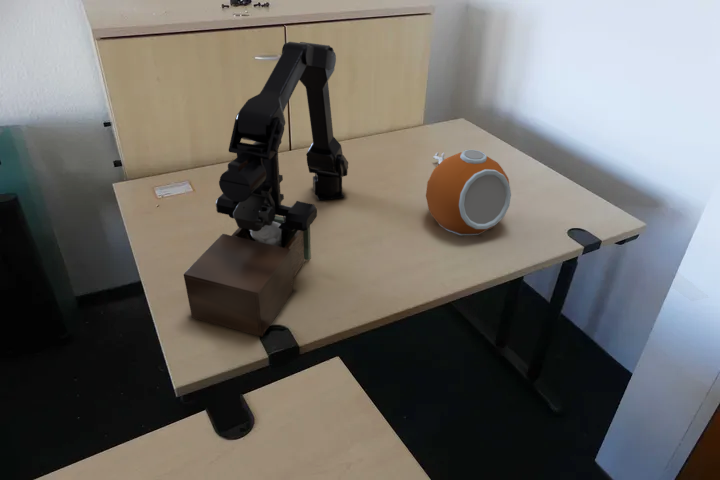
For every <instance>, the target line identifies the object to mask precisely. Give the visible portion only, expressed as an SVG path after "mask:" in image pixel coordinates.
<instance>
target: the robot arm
mask: <svg viewBox="0 0 720 480" xmlns="http://www.w3.org/2000/svg"><path fill="white" fill-rule="evenodd" d="M336 63H337V55H336V52H335V51H334V48H333V47H331V46H330V45H328V44H322V43H321V44H320V43H312V42H304V41H300V42H296V41H288V42H285V43H283V46H282V49H281V55H280V57H279V58H278V60H277V62H276V64H275V65H274V67H273V70H272V71H271V73H270V75H269V76H268V78H267V80H266V82H265V83H264V85H263V87H262V88H261V91H260V92H259V93H258V94H257V95H254V96H252V97H250V98H248V99H247V100H246V102H245V103H244V104H243V106H242V107H241V108H240V109H239V111H238V113H236V115H235V119H234V123H233V128H232V133H231V137H230V142H229V147H228V152H229V153H232V154H236V157H235V159H233V160H231V161H229V162H228V163H227V169H226V170H225V171H224V172H222V173H221V175H220V177H219V180H218V185H219V188H220V191H221V192H222V193H221V195H220V196H218V197H217V198H216V200H215V203H214V204H215V211H216V212H217V214H218V213H219V214H223V215H227V216H228V217H229V218H230V219H234V221H235V223H236V225H237V228H242V229H243V228H244V229H245V230H246V232H247V234H248V236H249V237H250V239H251V240H253V241H256V240H255V239H254V238H253V237H252V236H251V232H250V230H252V231H260V230H261V229H262V227H264V226H265V225H268V226H270V225H271V224H272V222H273V220H274V218H275V216H280V217H283V219H284V221H283V222H282V223H281V225H280V226H279V227H278V228H279V229H281V245H282V247H283V248H285V246H286V245H287V243H288V241H289V238H290V236H291V233H292V231H294V230H300V231H305V230H307V229H308V228H309V226H310V227H311V225H312V224H313V222H314V221H315V220H316V218H317V217H318V208H317V206H316V205H315V204H313V203H309V202H305V201H299V200H296V202H295V203H294V204H293V205H285V204H282V203H283V200H284V199H285V194H284V193H281V182H283V179H284V178H283V174H280V163H279V148H280V145H281V144H282V139H283V135H284V132H285V125H286V118H285V113H284V112H285V110H286V107H287V105H288V103H289V101H290V99H291V97H292V95H293V93H294V91H295V89H296V87H297V86H298V83H299V81H300V83H301V84H302V85H303V86H304V87H305V92H306V93H305V95H306V102H307V108H308V115H309V123H310V130H311V136H312V143H311V145H310V147H309V148H308V150H307V152H306V155H305V156H306V165H307V169H308V172H309V173H310V174H314V175H313V176H312V191H313V193H314V195H315V197H316V199H317V200H318V201H319V202H323V201H330V200H337V199H338V200H339V199H344V197H345V196H344V193H343V178H344V177H347V176H348V170H349V161H348V159H347V158H346V157H345V155H344V154H343V147H342V144H341V143H340V142H339V141H338V140H337V139H336V137H335V136H334V129H333V128H334V127H333V120H332V119H333V118H332V109H331V100H330V99H331V98H330V88H329V80H330V79H331V77H332V75H333V73H334V72H335V66H336ZM242 140H245V141H250V142H253V143H247V142H243V141H242Z"/></svg>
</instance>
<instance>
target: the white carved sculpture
mask: <svg viewBox="0 0 720 480" xmlns="http://www.w3.org/2000/svg"><path fill="white" fill-rule="evenodd" d="M280 225H281V224H279V223H277V222H274V221H273V222H272V224H271V225H270V226H268V225H265V226H264V227H262V229H261V230H260V231H252V230H250V232H251V236H252V237H253V238H254V239H255V240H256V241H257V242H261V243H266V244H270V245H275V246H279V247H280V246H281V229H279V228H278V227H279V226H280Z"/></svg>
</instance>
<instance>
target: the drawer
mask: <svg viewBox="0 0 720 480" xmlns="http://www.w3.org/2000/svg"><path fill="white" fill-rule="evenodd" d="M273 221H274V222H277V223H279V224H281V223H282V222H283V221H284V219H283V216H279V215H276V216H275V218H274V220H273ZM231 236H235V237H240V238H244V239H248V240H251V239H250V237H249V236H248V234H247V232H246V230H245V229H244V228H243V229H242V228H239V227H237V229H236V230H235V231H234V232H233V233H232V234H231ZM280 247H282V245H281V246H280ZM285 248H288V249H291V262H292V280H293V279H294V278H295V276H296V275H297V274H298V272H299V270H300V269H301V267H302V266H303V265H304V264H305V260H307V261H309V260H310V258H312V254H311V253H312V251H311V249H312V248H311V225H310V226H309V228H308V229H307V230H305V231H300V230H294V231H292V233H291V236H290V238H289V241H288V243H287V245H286V246H285Z"/></svg>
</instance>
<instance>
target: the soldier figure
mask: <svg viewBox="0 0 720 480" xmlns="http://www.w3.org/2000/svg"><path fill="white" fill-rule="evenodd" d="M439 154H440V153H439V152H438V151H437V152H435V154H434V155H433V156H432V159H435V160H436V161H437V163H438V165H439V164H440V163H441V162H442V161H443V160H444V159H445V152H441V156H439Z"/></svg>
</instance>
